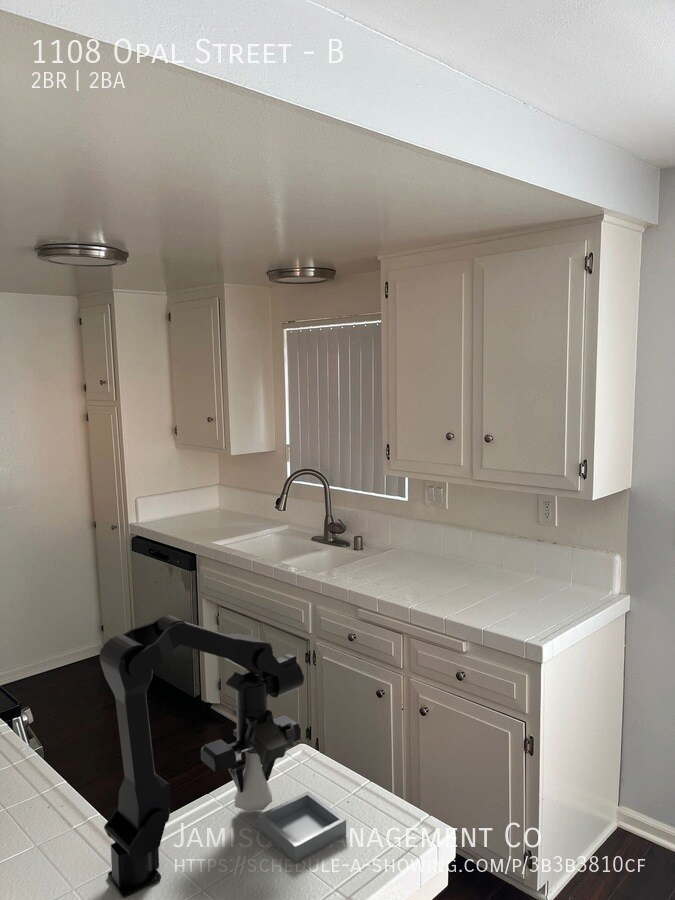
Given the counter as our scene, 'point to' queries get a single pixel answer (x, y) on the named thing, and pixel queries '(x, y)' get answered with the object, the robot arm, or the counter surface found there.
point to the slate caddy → (302, 826)
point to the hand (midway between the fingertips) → (253, 785)
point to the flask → (253, 785)
